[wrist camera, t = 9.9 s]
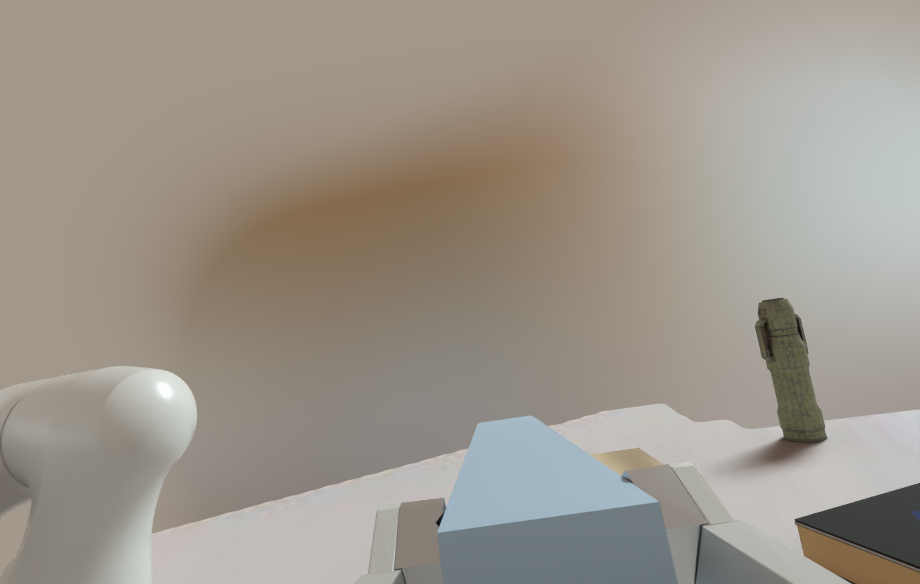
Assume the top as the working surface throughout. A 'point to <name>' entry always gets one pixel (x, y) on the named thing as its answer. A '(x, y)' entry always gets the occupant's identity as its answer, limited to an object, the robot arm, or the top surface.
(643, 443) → the top surface
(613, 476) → the light blue bar
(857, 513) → the book
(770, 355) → the olive piece
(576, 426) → the top surface
